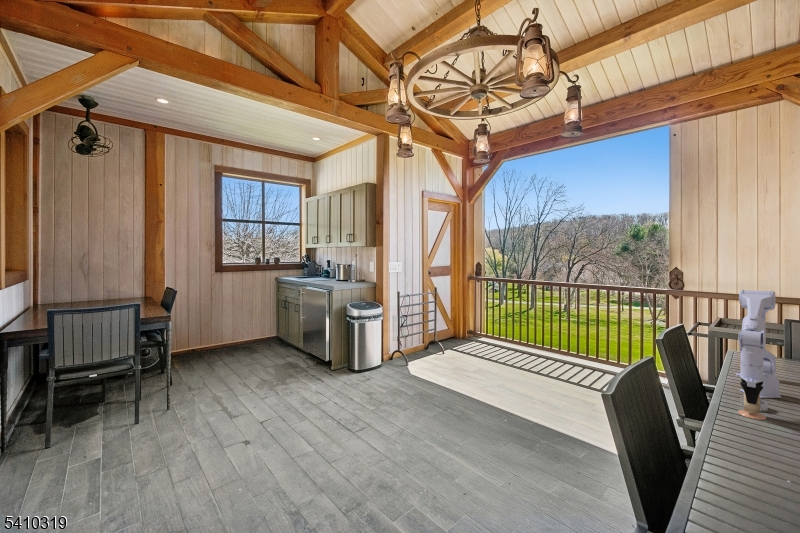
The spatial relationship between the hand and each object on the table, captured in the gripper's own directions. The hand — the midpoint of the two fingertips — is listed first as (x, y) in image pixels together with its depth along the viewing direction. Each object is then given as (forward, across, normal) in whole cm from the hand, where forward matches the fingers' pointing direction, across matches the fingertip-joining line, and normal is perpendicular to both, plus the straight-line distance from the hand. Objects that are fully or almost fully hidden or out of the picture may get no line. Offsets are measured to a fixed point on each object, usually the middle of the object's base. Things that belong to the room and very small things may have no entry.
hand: (751, 401), depth 121 cm
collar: (+5, -10, 0) cm, 11 cm away
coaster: (+5, 0, 0) cm, 5 cm away
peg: (+3, 0, 0) cm, 3 cm away
